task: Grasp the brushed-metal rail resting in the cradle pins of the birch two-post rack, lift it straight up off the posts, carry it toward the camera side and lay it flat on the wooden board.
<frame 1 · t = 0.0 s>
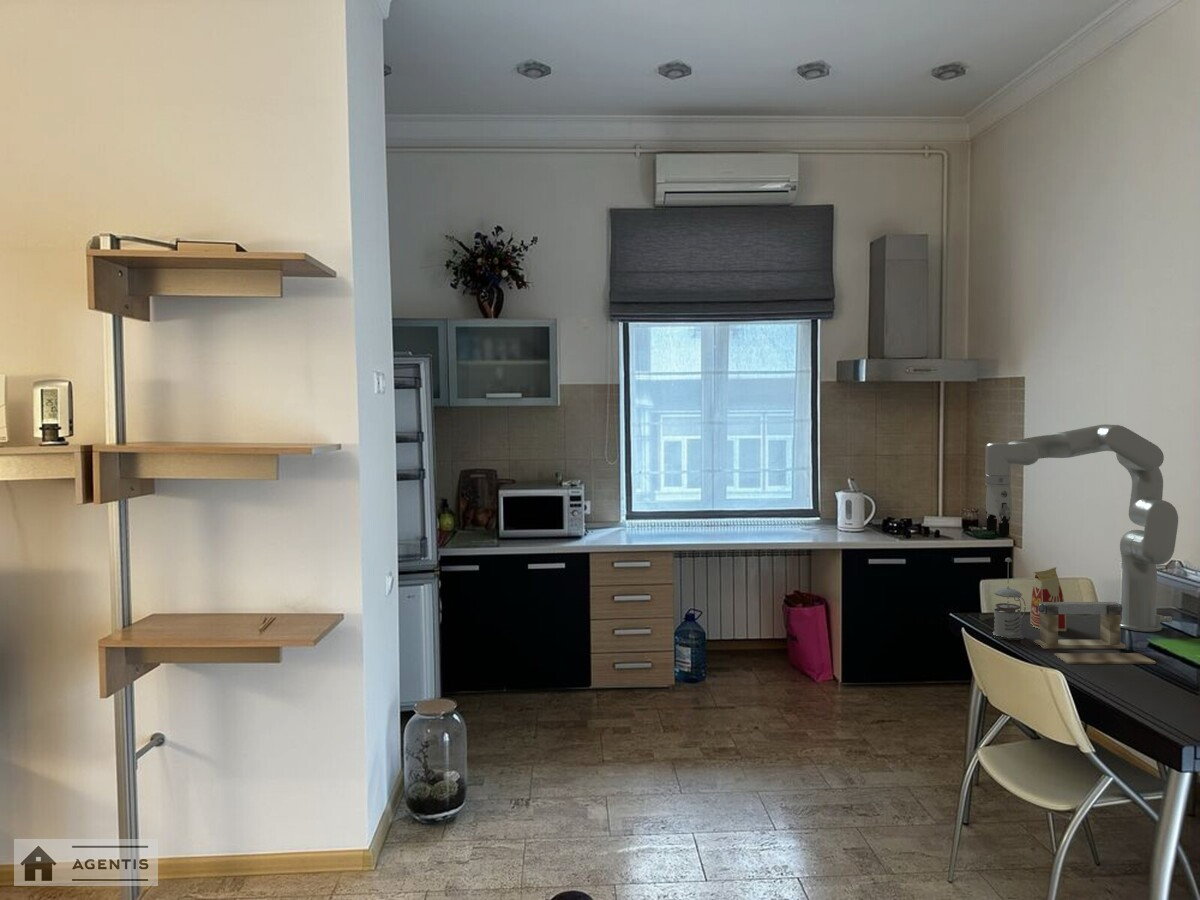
hand: (997, 533, 278), 31 cm above the table, fingers open, 9 cm apart
wooden board: (1103, 659, 244), on the table
french press: (1009, 636, 270), on the table
rail: (1079, 612, 257), point 10 cm above the table, touching rack
milk carton: (1046, 628, 279), on the table
rack: (1079, 645, 258), on the table
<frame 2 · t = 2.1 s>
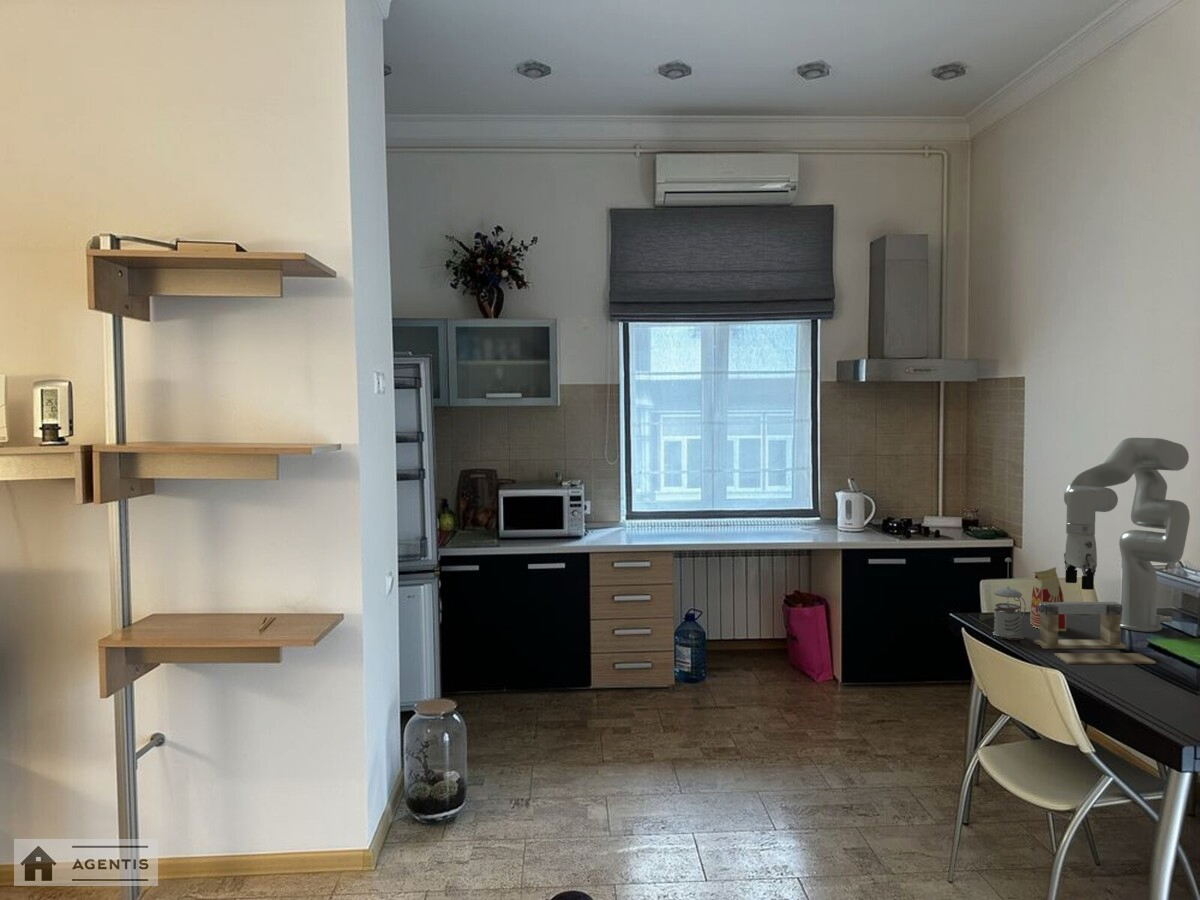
hand: (1079, 586, 256), 18 cm above the table, fingers open, 9 cm apart
nothing on the table moved.
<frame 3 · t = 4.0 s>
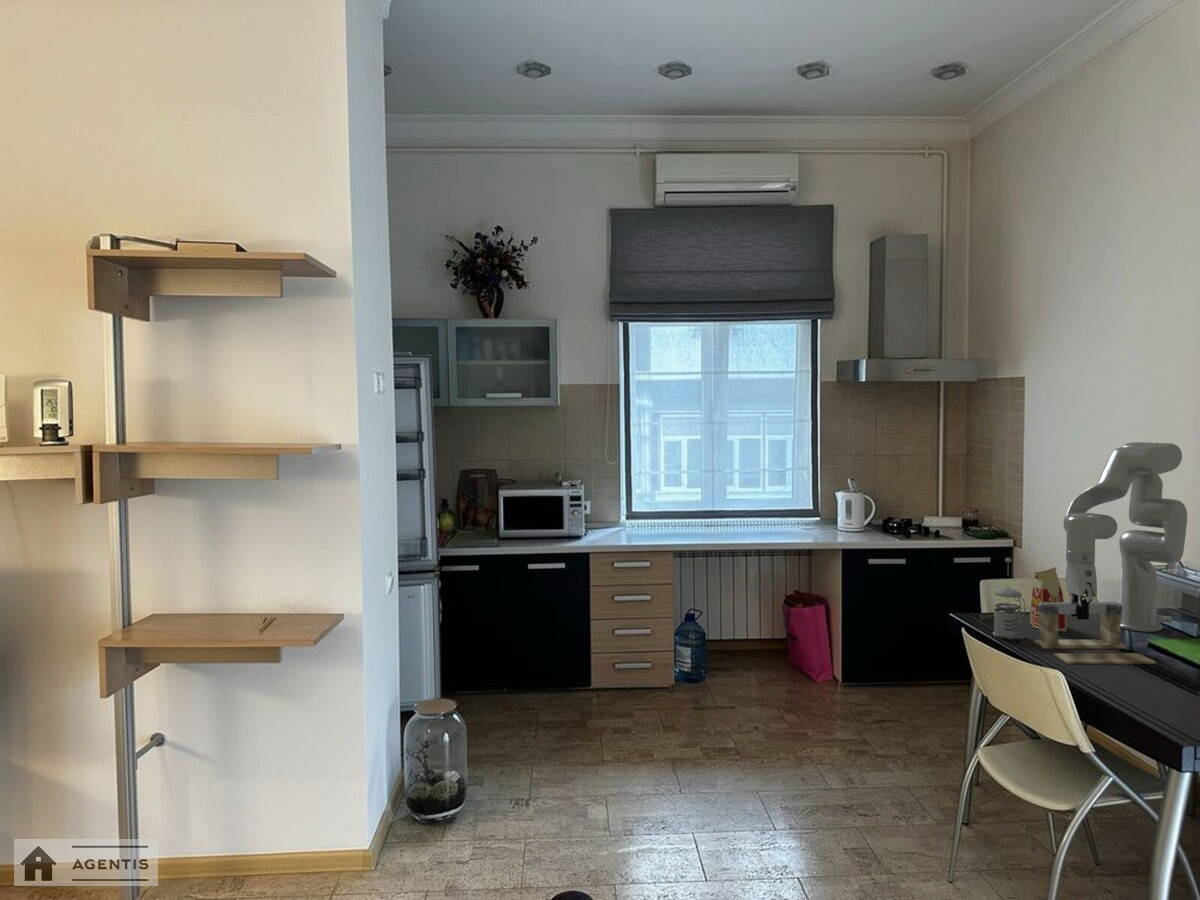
hand: (1079, 617, 257), 9 cm above the table, fingers closed on rail, 3 cm apart
rail: (1079, 612, 257), point 10 cm above the table, touching gripper, rack
everything else where it was.
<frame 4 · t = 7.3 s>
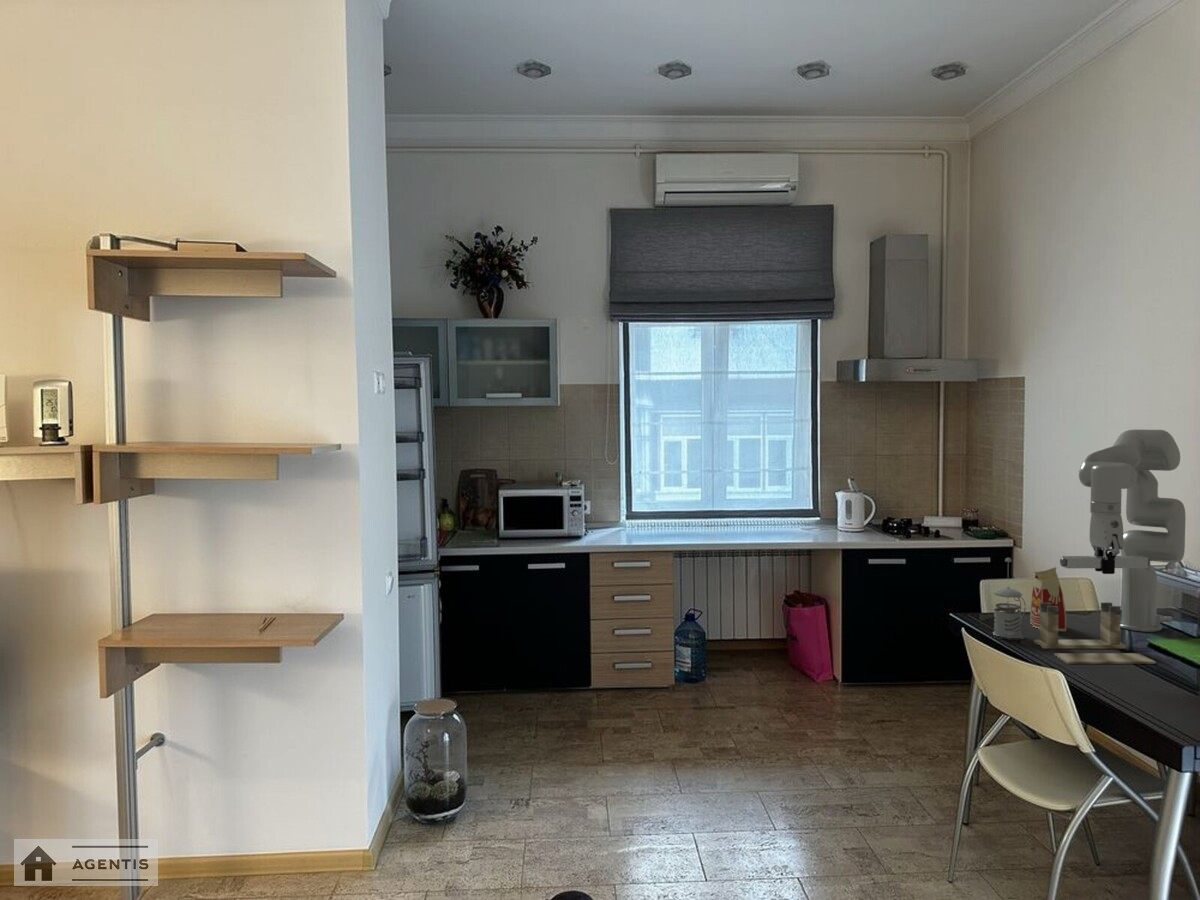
hand: (1104, 571, 243), 25 cm above the table, fingers closed on rail, 3 cm apart
rail: (1104, 567, 243), point 27 cm above the table, touching gripper
everything else where it was.
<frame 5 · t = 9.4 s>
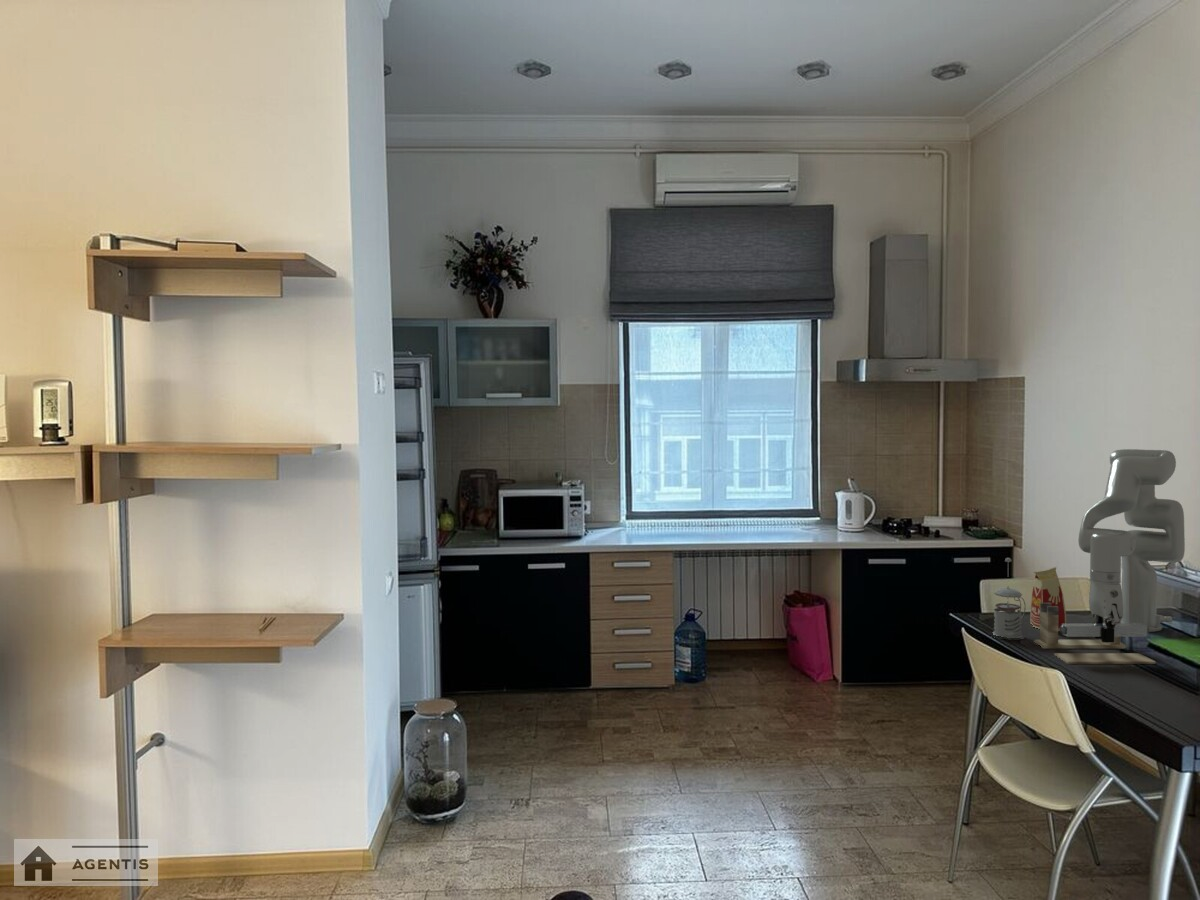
hand: (1104, 639, 243), 6 cm above the table, fingers closed on rail, 3 cm apart
rail: (1104, 635, 243), point 7 cm above the table, touching gripper
everything else where it was.
when the fingers open (2 cm above the table, at t = 10.8 s): rail drops 2 cm, resting on wooden board.
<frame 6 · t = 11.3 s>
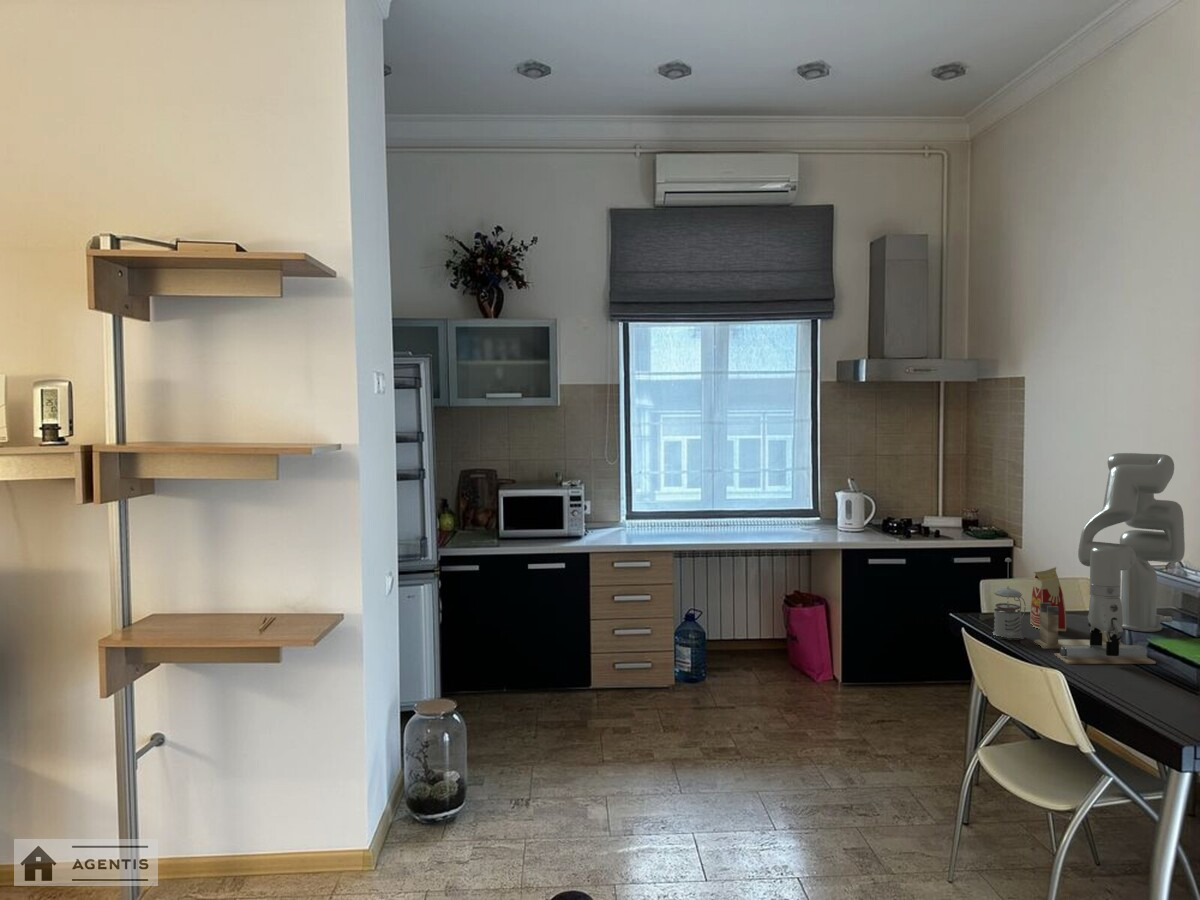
hand: (1104, 650, 244), 3 cm above the table, fingers open, 8 cm apart
rail: (1103, 657, 244), point 1 cm above the table, touching wooden board
everything else where it was.
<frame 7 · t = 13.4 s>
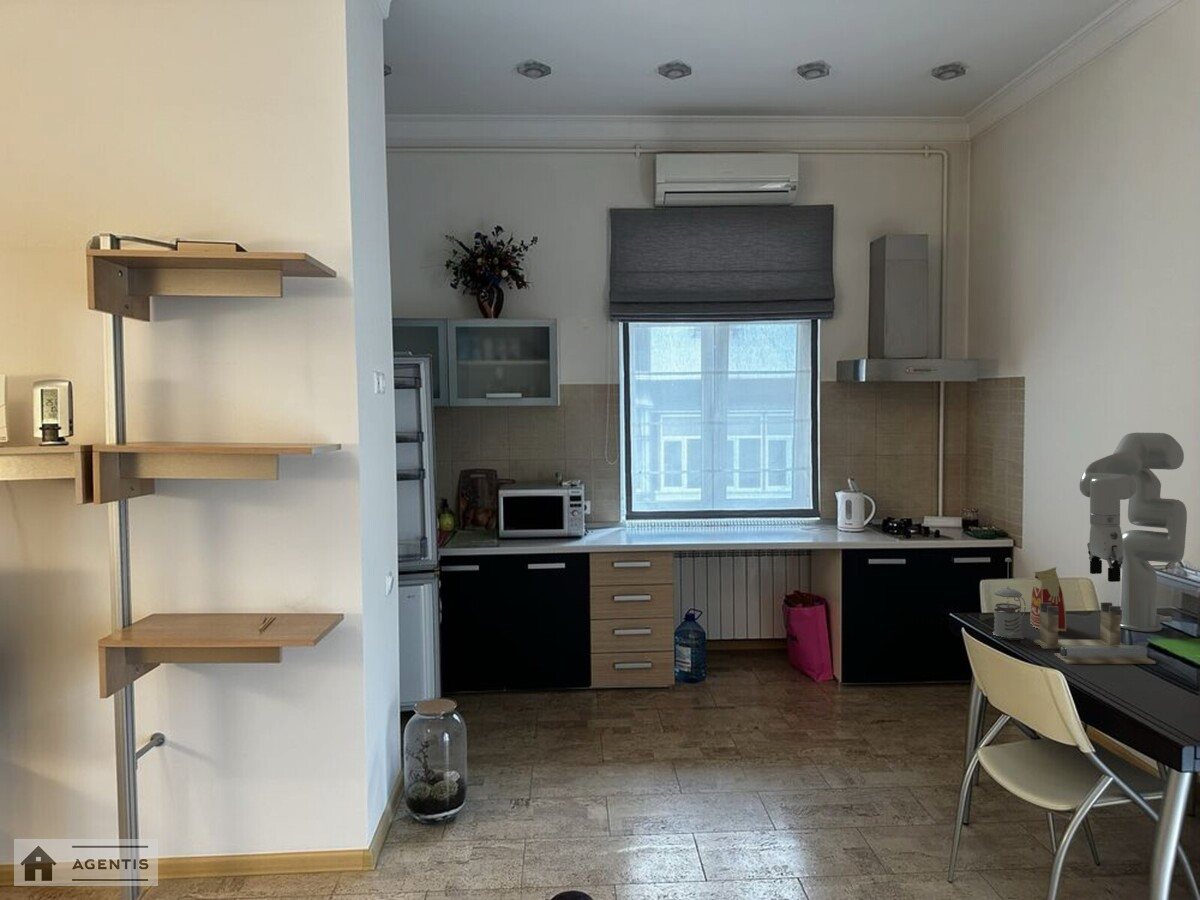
hand: (1104, 577, 249), 22 cm above the table, fingers open, 9 cm apart
nothing on the table moved.
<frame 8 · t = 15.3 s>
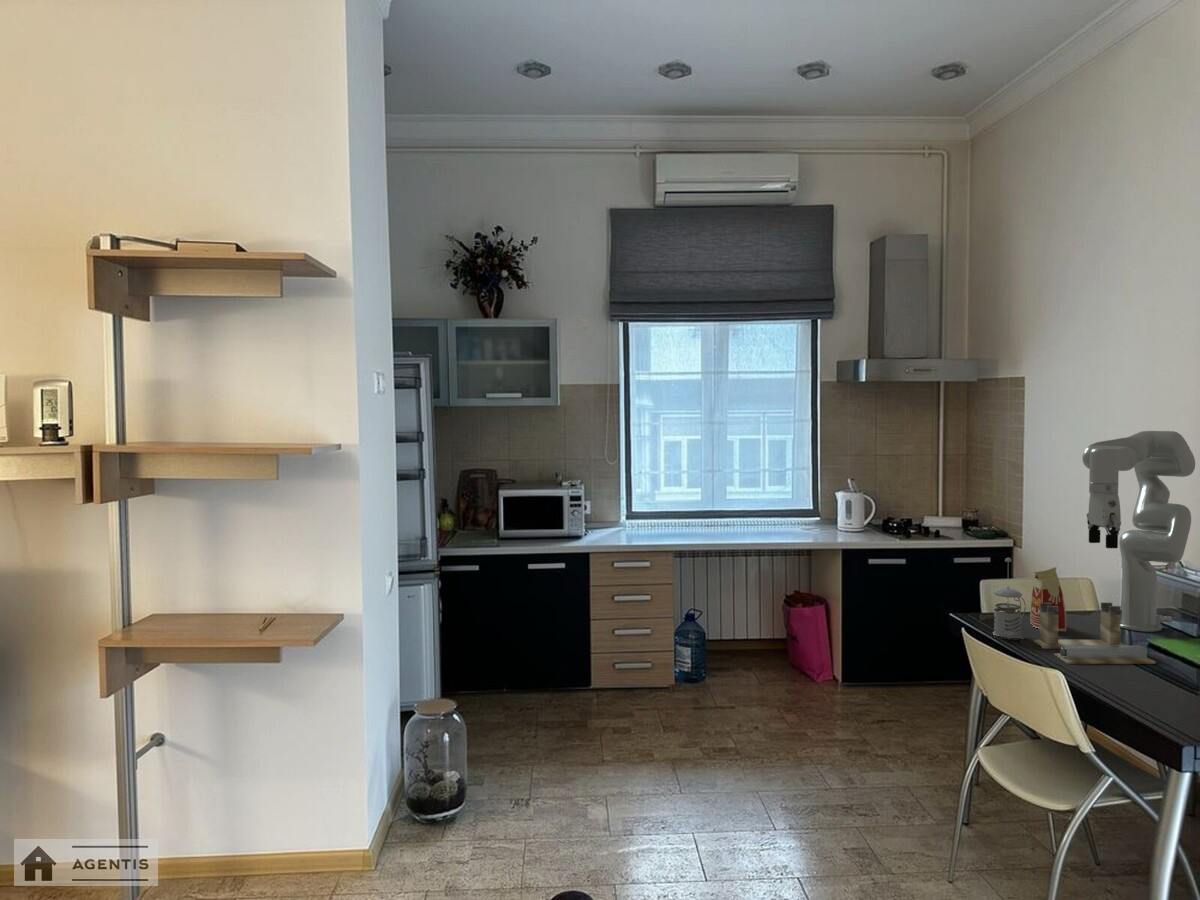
hand: (1102, 545, 257), 30 cm above the table, fingers open, 9 cm apart
nothing on the table moved.
at the end: rail inside the target area on the wooden board (0.2 cm from its centre), point 0.6 cm above the wooden board's base; rail touching wooden board; the gripper is holding nothing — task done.
